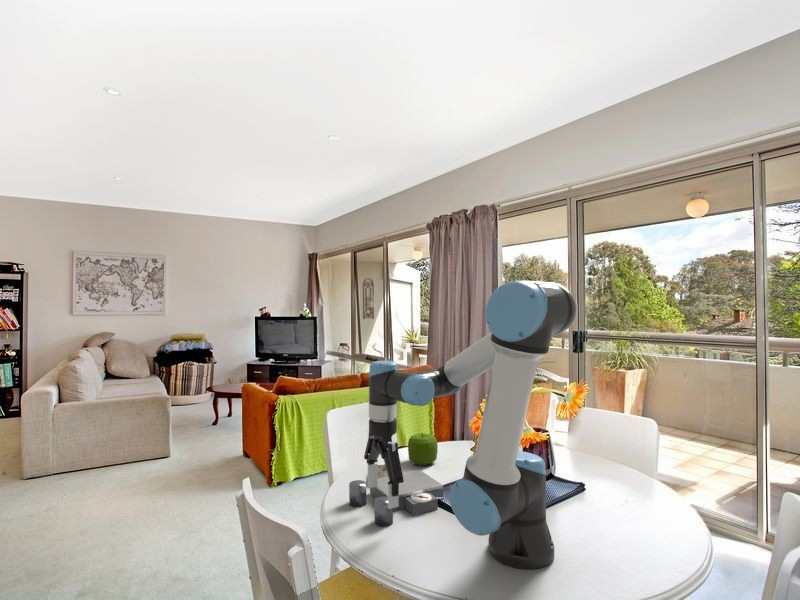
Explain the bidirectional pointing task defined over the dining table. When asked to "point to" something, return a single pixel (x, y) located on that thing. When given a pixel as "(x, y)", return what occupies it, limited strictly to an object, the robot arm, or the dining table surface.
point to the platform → (410, 484)
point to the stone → (381, 472)
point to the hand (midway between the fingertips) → (382, 496)
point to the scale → (415, 501)
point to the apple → (422, 449)
